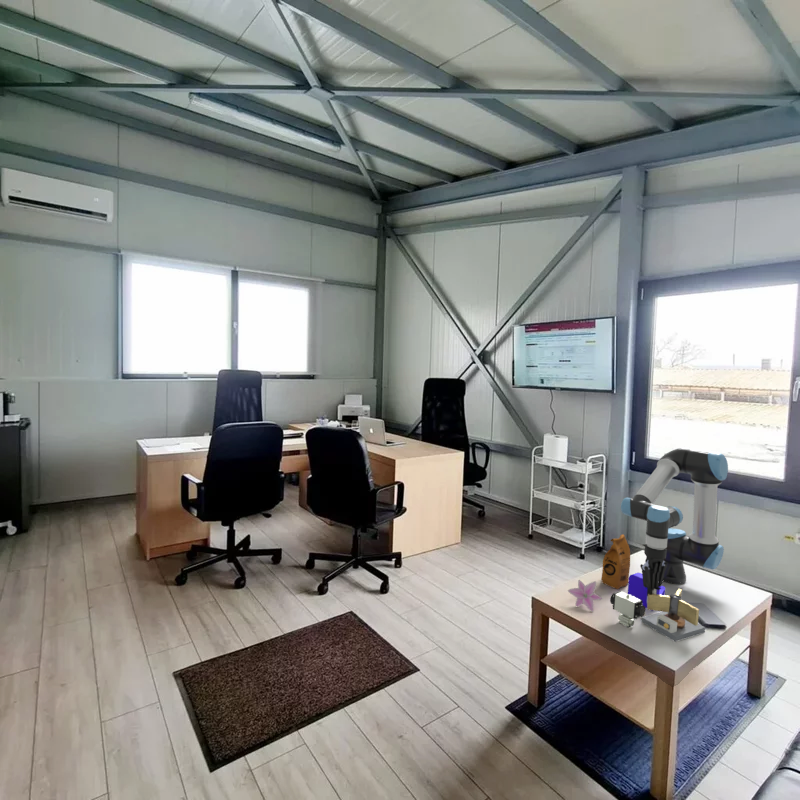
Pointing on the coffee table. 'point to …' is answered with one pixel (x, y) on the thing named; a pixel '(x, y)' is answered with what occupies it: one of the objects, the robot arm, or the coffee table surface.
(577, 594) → the lily
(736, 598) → the coffee table surface
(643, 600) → the bracket
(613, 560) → the coffee package
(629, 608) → the pneumatic valve
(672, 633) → the level stand
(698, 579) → the coffee table surface
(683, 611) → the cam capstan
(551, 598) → the coffee table surface
